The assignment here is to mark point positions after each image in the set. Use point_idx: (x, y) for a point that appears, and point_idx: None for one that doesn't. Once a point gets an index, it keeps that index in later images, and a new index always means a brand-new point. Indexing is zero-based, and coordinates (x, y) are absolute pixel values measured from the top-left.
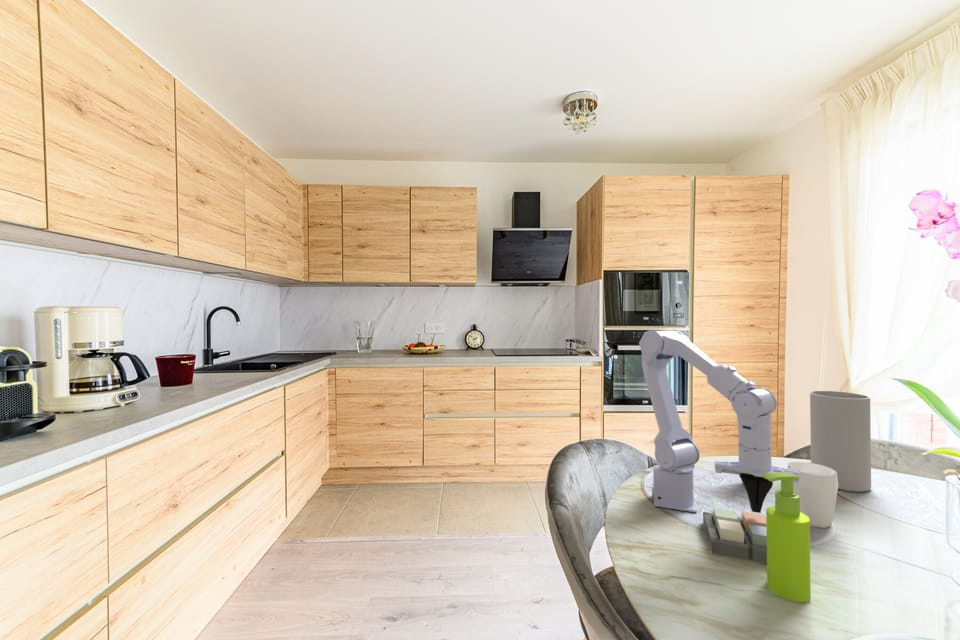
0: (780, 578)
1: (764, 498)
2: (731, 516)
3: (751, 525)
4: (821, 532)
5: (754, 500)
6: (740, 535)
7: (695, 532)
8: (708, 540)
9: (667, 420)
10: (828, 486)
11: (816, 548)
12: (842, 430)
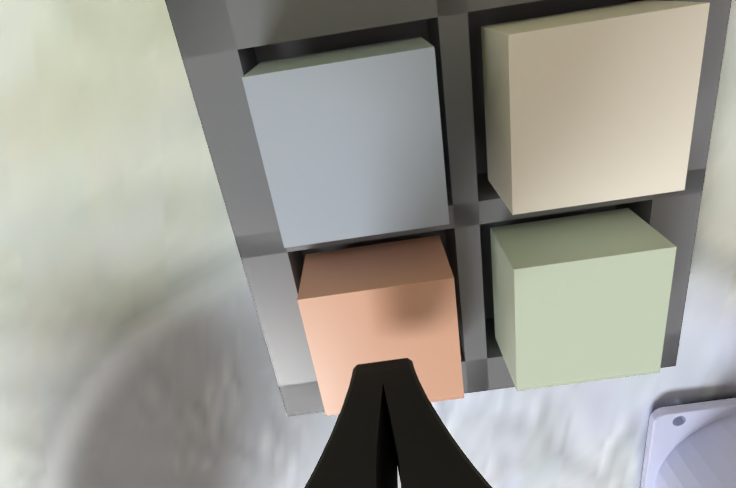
0: None
1: (314, 473)
2: (553, 294)
3: (427, 210)
4: (88, 482)
5: (411, 429)
6: (526, 26)
7: (717, 180)
8: None
9: None
10: None
11: (94, 324)
12: None
